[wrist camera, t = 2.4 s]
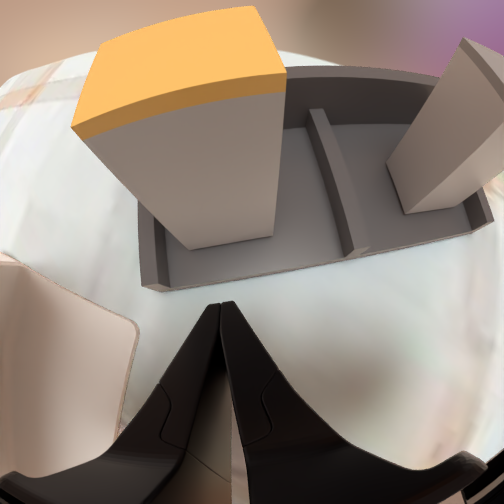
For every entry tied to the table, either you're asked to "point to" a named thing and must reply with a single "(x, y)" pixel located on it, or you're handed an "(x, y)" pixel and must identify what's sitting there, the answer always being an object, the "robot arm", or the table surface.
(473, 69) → the key plain
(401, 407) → the table surface
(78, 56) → the table surface
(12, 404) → the tablet stand
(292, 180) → the dark grey divided tray
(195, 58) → the key marked
